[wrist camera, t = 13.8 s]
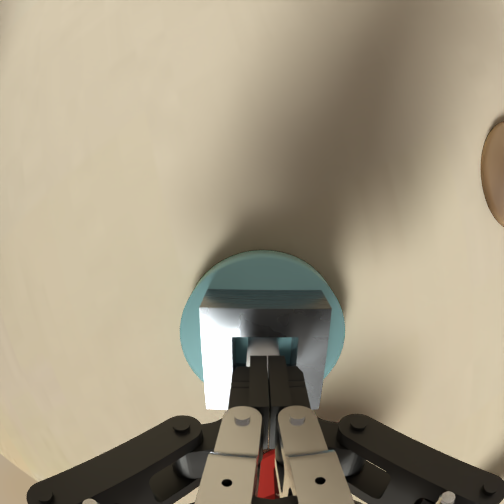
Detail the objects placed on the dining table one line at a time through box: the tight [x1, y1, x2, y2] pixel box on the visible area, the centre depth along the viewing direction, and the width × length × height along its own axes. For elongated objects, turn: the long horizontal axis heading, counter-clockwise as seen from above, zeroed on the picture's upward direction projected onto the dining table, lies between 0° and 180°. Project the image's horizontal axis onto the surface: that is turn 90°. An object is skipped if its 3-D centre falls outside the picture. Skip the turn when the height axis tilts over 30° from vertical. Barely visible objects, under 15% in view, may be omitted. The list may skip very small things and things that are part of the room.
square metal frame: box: [199, 289, 332, 410], centre depth 16 cm, size 6×6×2 cm
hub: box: [180, 250, 345, 382], centre depth 17 cm, size 9×9×4 cm
